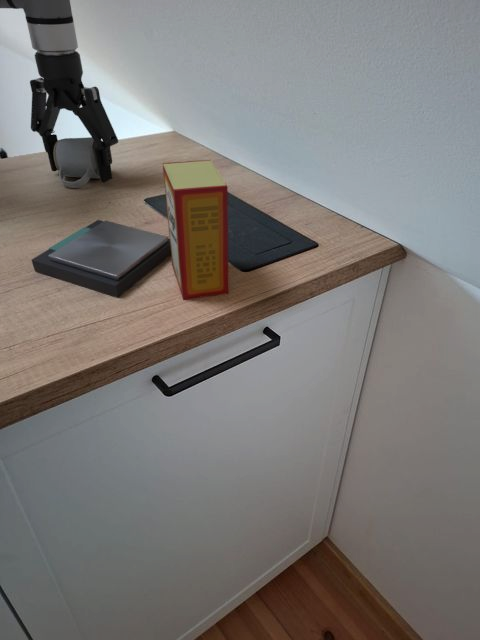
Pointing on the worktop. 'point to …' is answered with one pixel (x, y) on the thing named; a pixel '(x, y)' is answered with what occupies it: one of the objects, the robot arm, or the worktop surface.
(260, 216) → the worktop surface
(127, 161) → the worktop surface
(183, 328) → the worktop surface
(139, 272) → the scale
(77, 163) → the ceramic mug
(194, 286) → the baking soda box
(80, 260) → the scale pan
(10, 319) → the worktop surface
